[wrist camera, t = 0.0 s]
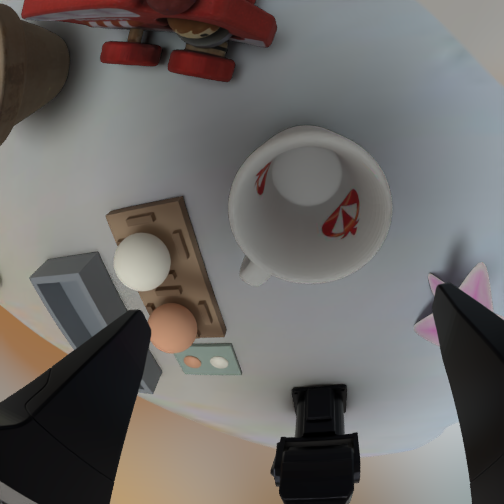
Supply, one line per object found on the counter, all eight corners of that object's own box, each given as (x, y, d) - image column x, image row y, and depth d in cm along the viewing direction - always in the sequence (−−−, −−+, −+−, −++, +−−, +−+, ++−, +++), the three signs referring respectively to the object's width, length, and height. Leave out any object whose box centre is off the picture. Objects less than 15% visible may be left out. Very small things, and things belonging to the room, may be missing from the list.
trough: (162, 371, 36) (153, 394, 33) (112, 367, 38) (102, 386, 35) (97, 251, 27) (78, 273, 24) (47, 259, 29) (29, 277, 26)
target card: (242, 372, 34) (241, 376, 33) (185, 371, 35) (184, 375, 35) (231, 343, 31) (230, 347, 31) (170, 343, 33) (169, 347, 32)
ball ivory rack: (185, 267, 26) (167, 302, 22) (140, 271, 26) (118, 304, 23) (168, 218, 23) (144, 248, 20) (121, 226, 24) (94, 255, 20)
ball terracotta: (208, 328, 29) (196, 364, 25) (167, 329, 30) (152, 362, 26) (194, 291, 27) (178, 327, 23) (150, 293, 28) (131, 327, 24)
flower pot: (118, 17, 16) (22, 3, 8) (74, 146, 22) (-13, 192, 13) (29, 2, 15) (-55, 4, 6) (-1, 110, 20) (-78, 141, 12)
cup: (298, 264, 25) (296, 336, 18) (211, 213, 24) (177, 273, 17) (384, 158, 20) (425, 201, 13) (289, 91, 18) (286, 96, 12)
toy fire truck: (260, 90, 19) (229, 98, 10) (103, 61, 18) (0, 71, 9) (291, 0, 15) (286, -65, 6) (125, -20, 14) (32, -50, 6)
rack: (226, 329, 30) (223, 341, 29) (164, 330, 32) (159, 341, 30) (182, 196, 23) (175, 204, 22) (111, 210, 25) (101, 219, 23)
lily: (466, 207, 21) (458, 283, 16) (550, 277, 18) (556, 361, 13) (404, 287, 31) (375, 358, 25) (478, 338, 27) (462, 411, 22)
